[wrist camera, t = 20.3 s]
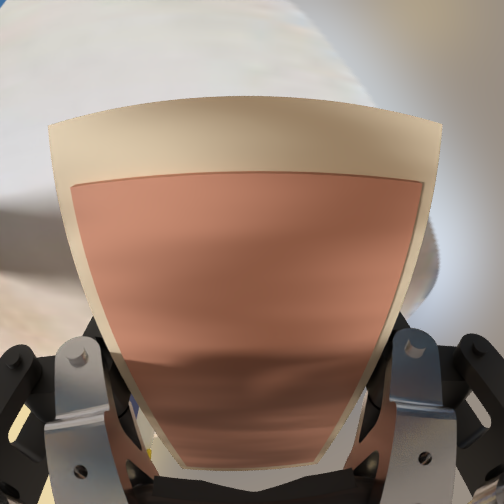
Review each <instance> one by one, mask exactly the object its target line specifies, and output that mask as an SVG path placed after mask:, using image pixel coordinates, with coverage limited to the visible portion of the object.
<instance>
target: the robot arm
mask: <svg viewBox="0 0 504 504" xmlns="http://www.w3.org/2000/svg"><path fill="white" fill-rule="evenodd" d="M366 388H367V392H366V394H365V396H364V399H363V405H362V410H361V415H360V420H359V424H358V429H357V433H356V437H355V441H354V445H353V448H352V451H351V453H350V455H349V457H348V459H347V461H346V463H345V466H344V469H343V470H339V471H334V472H329V473H323V474H318V475H311V476H306V477H303V478H300V479H297V480H294V481H292V482H288V483H285V484H282V485H279V486H276V487H273V488H269V489H266V490H262V491H258V492H249V491H244V490H239V489H234V488H230V487H225V486H221V485H217V484H212V483H209V482H206V481H202V480H187V479H178V478H169V477H162V476H159V474H158V472H157V470H156V468H155V466H154V465H153V463H152V461H151V460H150V458H149V456H148V453H147V451H146V448H145V445H144V442H143V439H142V436H141V433H140V430H139V427H138V424H137V421H136V417H135V414H134V410H133V407H132V404H131V402H130V400H129V399H130V396H131V392H130V390H129V388H128V387H127V385H126V383H125V381H124V379H123V378H122V376H121V374H120V372H119V370H118V368H117V366H116V364H115V362H114V360H113V358H112V356H111V354H110V352H109V350H108V348H107V346H106V343H105V341H104V339H103V337H102V335H101V332H100V330H99V328H98V326H97V323H96V321H95V318H94V316H93V317H92V319H91V321H90V323H89V324H88V326H87V328H86V330H85V332H84V334H83V336H80V337H75V338H72V339H70V340H68V341H67V342H65V343H64V344H63V345H62V346H61V347H60V348H59V350H58V351H57V353H56V355H55V356H47V357H39V358H36V356H35V355H34V353H33V351H32V350H31V348H30V347H28V346H27V345H22V344H21V345H16V346H13V347H11V348H10V349H8V350H7V351H6V352H5V353H4V354H3V355H2V357H1V358H0V504H37V503H38V501H39V498H40V495H41V493H42V490H43V487H44V485H45V482H46V480H47V477H48V475H49V476H50V481H51V487H52V492H53V496H54V501H55V504H452V497H453V489H454V479H455V468H456V467H457V468H458V470H459V472H460V474H461V476H462V477H463V480H464V482H465V483H466V485H467V487H468V489H469V491H470V493H471V495H472V497H473V499H472V500H471V501H470V502H469V503H468V504H504V359H503V357H502V356H501V355H500V354H499V353H498V352H497V350H496V349H495V348H494V347H493V346H492V345H491V343H490V342H489V341H488V340H486V339H485V338H484V337H482V336H480V335H477V334H467V335H464V336H463V337H462V339H461V340H460V342H459V344H458V346H457V347H454V346H440V345H437V344H436V342H435V340H434V339H433V338H432V337H431V336H430V335H429V334H427V333H426V332H424V331H422V330H419V329H415V328H410V326H409V325H408V323H407V321H406V320H405V318H404V317H403V315H402V314H401V312H400V311H399V314H398V317H397V319H396V322H395V324H394V327H393V329H392V331H391V334H390V336H389V338H388V341H387V343H386V345H385V347H384V350H383V352H382V354H381V356H380V358H379V360H378V362H377V365H376V367H375V369H374V371H373V373H372V375H371V377H370V379H369V381H368V383H367V384H366ZM472 391H473V392H474V393H475V395H476V396H477V397H478V399H479V401H480V402H481V403H482V404H483V406H484V408H485V409H486V411H487V412H488V414H489V415H490V417H491V427H490V428H486V427H484V426H483V425H482V424H481V422H480V421H479V419H478V418H477V416H476V415H475V413H474V412H473V410H472V409H471V407H470V406H469V404H468V403H467V401H466V400H465V399H466V398H467V396H468V395H469V394H470V393H471V392H472ZM23 404H25V405H26V406H27V407H28V408H29V409H30V410H31V413H30V414H29V416H28V418H27V420H26V422H25V424H24V425H23V427H22V429H21V431H20V433H19V435H18V437H17V439H16V441H14V442H12V443H10V442H9V439H8V433H9V430H10V428H11V426H12V424H13V422H14V420H15V419H16V417H17V415H18V413H19V411H20V410H21V408H22V406H23Z"/></svg>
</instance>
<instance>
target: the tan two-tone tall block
mask: <svg viewBox="0 0 504 504" xmlns="http://www.w3.org/2000/svg"><path fill="white" fill-rule="evenodd" d="M48 132H49V143H50V152H51V160H52V167H53V174H54V180H55V186H56V191H57V196H58V201H59V206H60V211H61V215H62V219H63V224H64V228H65V232H66V235H67V239H68V243H69V246H70V250H71V253H72V257H73V260H74V263H75V266H76V270H77V273H78V276H79V279H80V281H81V284H82V287H83V290H84V293H85V295H86V298H87V301H88V303H89V306H90V309H91V311H92V314H93V316H94V318H95V321H96V323H97V326H98V328H99V330H100V332H101V335H102V337H103V339H104V341H105V343H106V346H107V348H108V350H109V352H110V354H111V356H112V358H113V360H114V362H115V364H116V366H117V368H118V370H119V372H120V374H121V376H122V378H123V379H124V381H125V383H126V385H127V387H128V388H129V390H130V392H131V394H132V395H133V397H134V399H135V401H136V402H137V404H138V406H139V407H140V409H141V410H142V412H143V414H144V415H145V417H146V418H147V420H148V422H149V423H150V425H151V426H152V428H153V429H154V431H155V432H156V434H157V435H158V437H159V438H160V439H161V441H162V442H163V444H164V445H165V447H166V448H167V449H168V451H169V452H170V453H171V455H172V456H173V457H174V459H175V460H176V461H177V462H178V464H179V465H180V466H181V468H182V469H193V470H213V471H246V470H247V471H248V470H267V469H280V468H290V467H298V466H306V465H312V464H317V463H318V462H319V461H320V459H321V458H322V457H323V455H324V454H325V452H326V451H327V449H328V448H329V446H330V445H331V443H332V442H333V440H334V439H335V437H336V436H337V434H338V433H339V431H340V430H341V428H342V426H343V425H344V423H345V422H346V420H347V418H348V416H349V415H350V413H351V411H352V410H353V408H354V406H355V404H356V403H357V401H358V399H359V397H360V395H361V394H362V392H363V390H364V388H365V386H366V384H367V383H368V381H369V379H370V377H371V375H372V373H373V371H374V369H375V367H376V365H377V362H378V360H379V358H380V356H381V354H382V352H383V350H384V347H385V345H386V343H387V341H388V338H389V336H390V334H391V331H392V329H393V327H394V324H395V322H396V319H397V317H398V314H399V311H400V309H401V306H402V304H403V301H404V298H405V295H406V292H407V290H408V287H409V284H410V281H411V278H412V275H413V272H414V268H415V265H416V262H417V258H418V255H419V252H420V248H421V244H422V241H423V237H424V233H425V229H426V225H427V221H428V216H429V212H430V207H431V202H432V197H433V192H434V187H435V181H436V175H437V168H438V161H439V154H440V145H441V135H442V124H440V123H436V122H433V121H429V120H426V119H422V118H418V117H414V116H410V115H406V114H402V113H398V112H393V111H388V110H383V109H378V108H373V107H368V106H362V105H356V104H349V103H342V102H334V101H326V100H316V99H305V98H291V97H270V96H224V97H203V98H189V99H178V100H168V101H160V102H152V103H145V104H139V105H133V106H127V107H121V108H116V109H111V110H106V111H101V112H97V113H92V114H88V115H84V116H80V117H76V118H73V119H69V120H65V121H62V122H58V123H55V124H52V125H49V126H48Z"/></svg>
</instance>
